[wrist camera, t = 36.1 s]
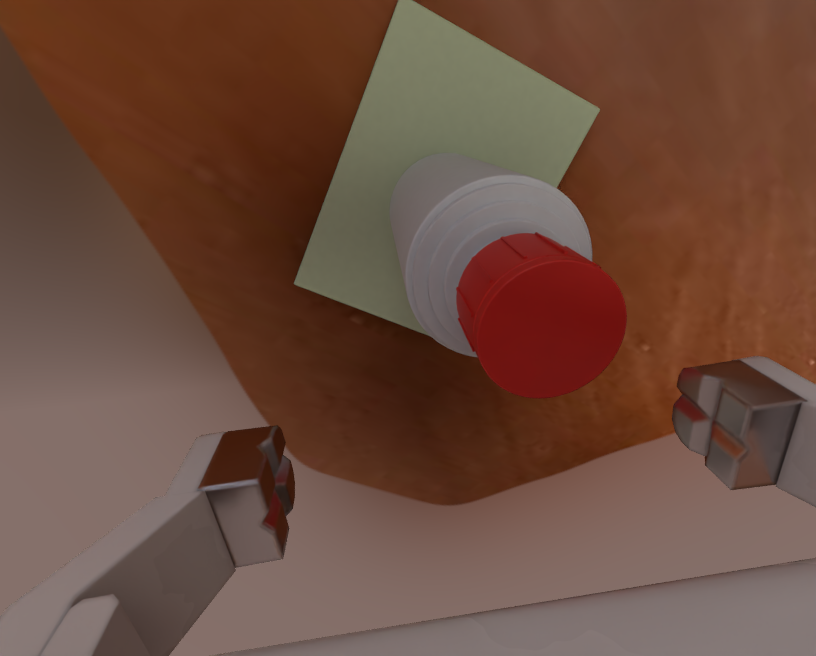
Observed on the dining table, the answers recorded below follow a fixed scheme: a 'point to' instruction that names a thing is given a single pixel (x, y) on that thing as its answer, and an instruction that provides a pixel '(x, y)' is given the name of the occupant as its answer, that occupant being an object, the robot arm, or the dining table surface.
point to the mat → (430, 147)
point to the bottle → (467, 229)
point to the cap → (539, 315)
